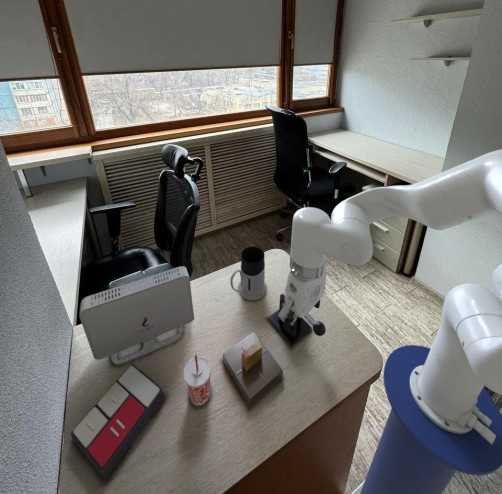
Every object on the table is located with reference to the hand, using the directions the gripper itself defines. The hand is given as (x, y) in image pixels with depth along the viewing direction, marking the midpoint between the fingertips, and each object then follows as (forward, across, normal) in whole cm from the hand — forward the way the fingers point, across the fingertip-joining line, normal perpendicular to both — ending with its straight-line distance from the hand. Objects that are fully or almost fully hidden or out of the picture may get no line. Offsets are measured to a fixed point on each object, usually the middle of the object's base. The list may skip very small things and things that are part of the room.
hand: (301, 317), depth 65 cm
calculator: (+16, -38, +20) cm, 45 cm away
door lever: (+7, +5, +2) cm, 9 cm away
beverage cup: (+16, -23, +12) cm, 30 cm away
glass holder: (+16, +4, +24) cm, 29 cm away
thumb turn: (+13, -10, +7) cm, 18 cm away
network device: (+16, -26, +33) cm, 45 cm away
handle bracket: (+16, +6, +7) cm, 18 cm away
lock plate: (+16, -10, +7) cm, 20 cm away
